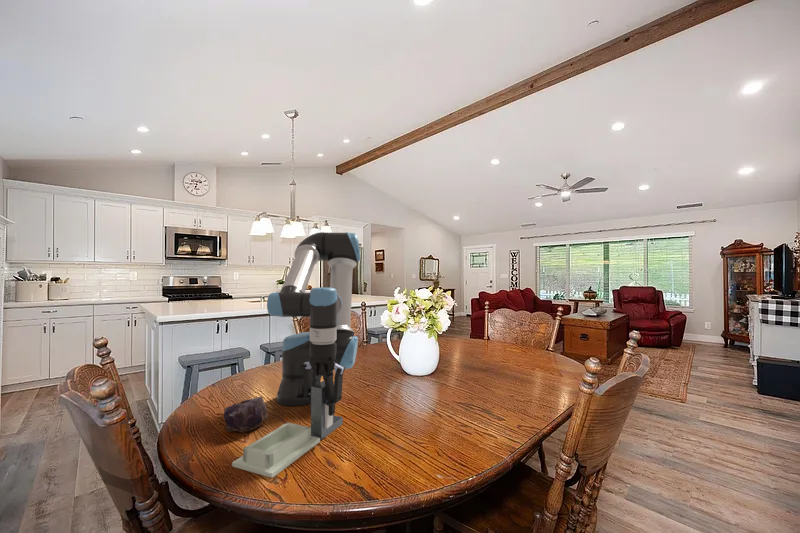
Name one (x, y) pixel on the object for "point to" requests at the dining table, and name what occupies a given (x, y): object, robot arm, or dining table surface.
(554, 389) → the dining table surface
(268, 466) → the rectangular frame
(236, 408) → the rock
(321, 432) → the grey l-shaped block
